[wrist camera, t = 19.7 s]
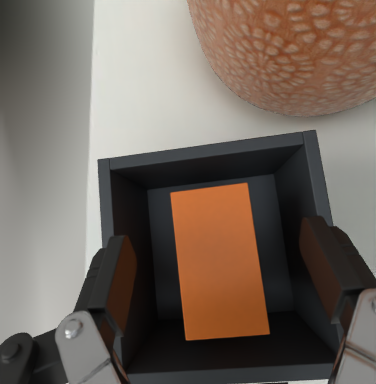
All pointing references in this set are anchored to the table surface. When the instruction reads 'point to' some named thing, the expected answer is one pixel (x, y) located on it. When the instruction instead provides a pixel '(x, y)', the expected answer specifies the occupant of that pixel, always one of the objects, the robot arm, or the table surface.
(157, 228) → the dark grey open box
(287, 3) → the planter
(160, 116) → the table surface
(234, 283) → the block
